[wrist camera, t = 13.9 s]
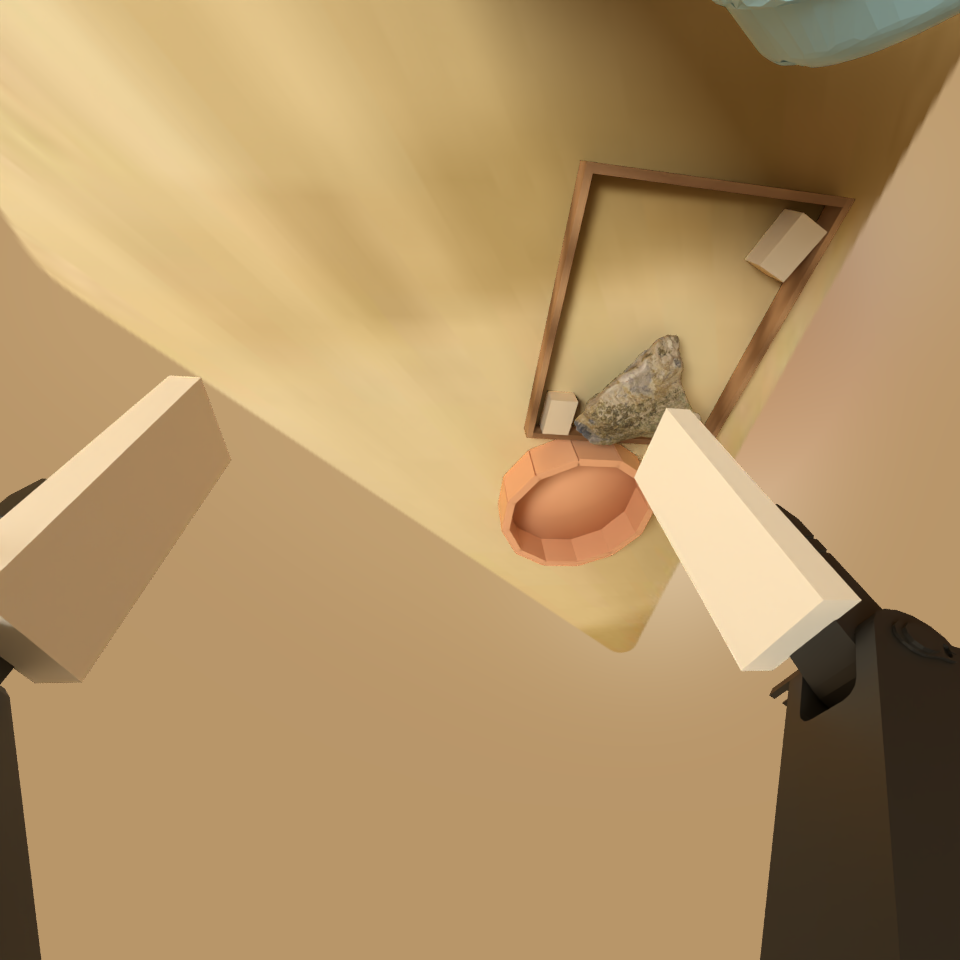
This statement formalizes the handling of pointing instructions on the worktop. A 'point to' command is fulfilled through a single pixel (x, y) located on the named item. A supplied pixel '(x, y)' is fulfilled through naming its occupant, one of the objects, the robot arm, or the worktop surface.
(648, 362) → the rock
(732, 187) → the tray
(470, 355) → the worktop surface
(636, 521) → the bowl
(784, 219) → the beige rectangular block
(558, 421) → the cream cuboid block
